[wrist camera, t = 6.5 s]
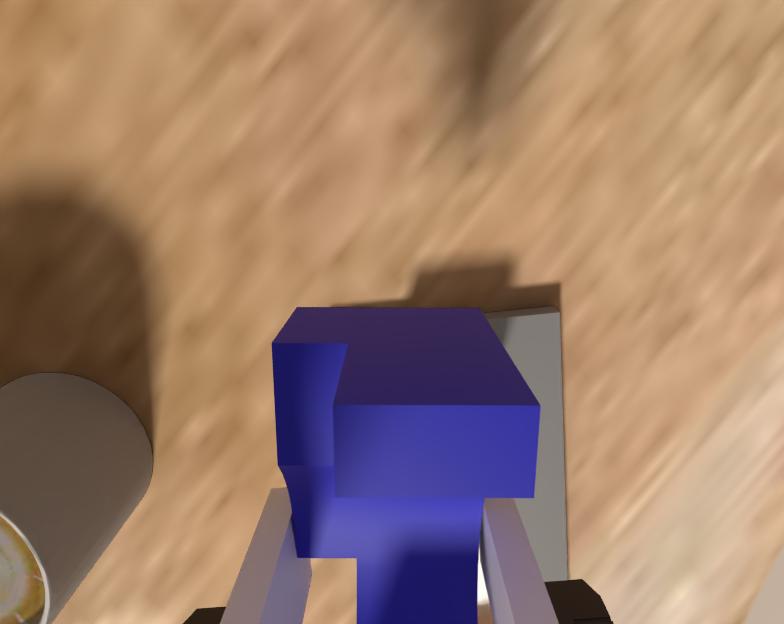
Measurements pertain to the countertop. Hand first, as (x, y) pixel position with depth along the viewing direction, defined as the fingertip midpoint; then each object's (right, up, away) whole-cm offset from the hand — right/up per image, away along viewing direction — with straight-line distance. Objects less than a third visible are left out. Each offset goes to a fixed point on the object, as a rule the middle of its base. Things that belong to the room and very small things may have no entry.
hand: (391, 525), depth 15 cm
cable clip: (0, 0, 0) cm, 0 cm away
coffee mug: (-20, -4, +18) cm, 27 cm away
